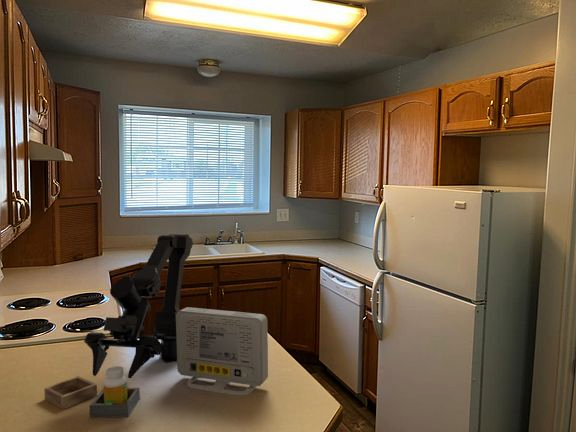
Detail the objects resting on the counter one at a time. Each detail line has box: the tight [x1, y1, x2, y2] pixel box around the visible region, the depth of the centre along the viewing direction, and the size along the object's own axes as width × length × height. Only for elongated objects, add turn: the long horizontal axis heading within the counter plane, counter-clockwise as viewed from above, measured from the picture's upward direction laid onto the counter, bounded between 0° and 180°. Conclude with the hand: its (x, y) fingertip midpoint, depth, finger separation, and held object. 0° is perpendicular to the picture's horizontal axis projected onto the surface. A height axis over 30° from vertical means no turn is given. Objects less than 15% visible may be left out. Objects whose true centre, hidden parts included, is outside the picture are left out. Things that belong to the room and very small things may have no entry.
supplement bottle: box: [103, 365, 128, 403], centre depth 114 cm, size 5×5×10 cm
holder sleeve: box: [43, 375, 98, 410], centre depth 120 cm, size 9×9×3 cm
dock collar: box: [89, 387, 141, 419], centre depth 114 cm, size 9×9×4 cm
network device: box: [176, 306, 269, 396], centre depth 126 cm, size 26×9×20 cm, turn 71°
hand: (111, 376), depth 113 cm, fingers open, 9 cm apart
